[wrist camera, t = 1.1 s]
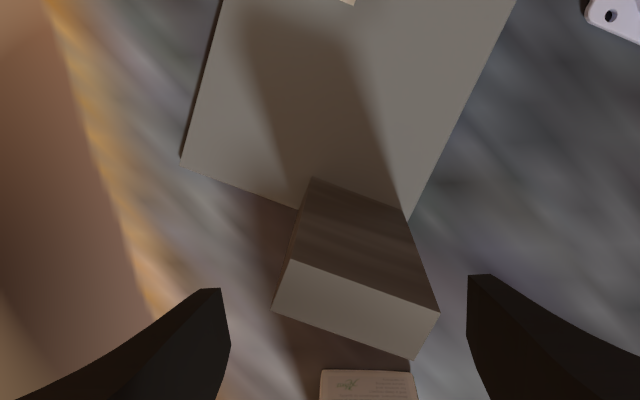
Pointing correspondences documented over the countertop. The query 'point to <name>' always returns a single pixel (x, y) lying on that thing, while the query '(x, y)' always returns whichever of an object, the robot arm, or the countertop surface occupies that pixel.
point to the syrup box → (367, 385)
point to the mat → (337, 93)
